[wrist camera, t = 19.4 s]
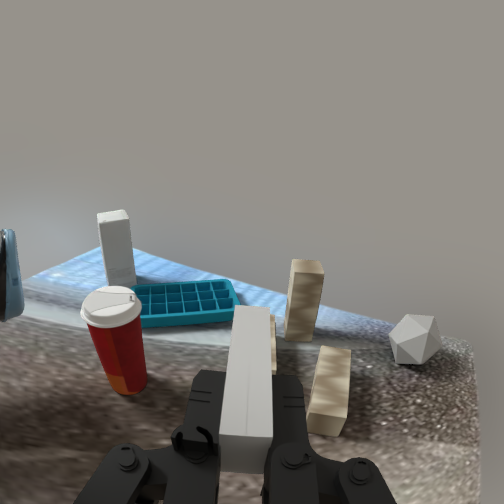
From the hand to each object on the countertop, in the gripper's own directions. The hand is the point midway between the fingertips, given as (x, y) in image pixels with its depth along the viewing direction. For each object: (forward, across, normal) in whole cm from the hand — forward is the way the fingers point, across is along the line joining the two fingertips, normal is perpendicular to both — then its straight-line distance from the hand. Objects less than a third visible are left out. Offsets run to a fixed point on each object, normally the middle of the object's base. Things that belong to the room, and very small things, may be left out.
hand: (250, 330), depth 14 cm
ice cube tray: (+37, -12, -26) cm, 47 cm away
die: (+24, +28, -25) cm, 45 cm away
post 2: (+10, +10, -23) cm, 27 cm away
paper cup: (+17, -16, -26) cm, 35 cm away
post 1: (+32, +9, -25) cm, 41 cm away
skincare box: (+44, -28, -26) cm, 58 cm away
